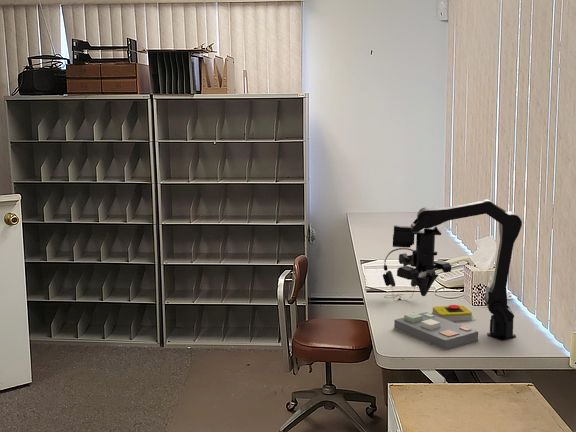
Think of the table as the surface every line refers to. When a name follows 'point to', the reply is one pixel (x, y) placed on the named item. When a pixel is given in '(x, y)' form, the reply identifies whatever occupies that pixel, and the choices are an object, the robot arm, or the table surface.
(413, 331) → the keypad
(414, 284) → the headphones
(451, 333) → the terracotta key
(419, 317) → the sage key
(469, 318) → the emergency button
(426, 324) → the offwhite key
